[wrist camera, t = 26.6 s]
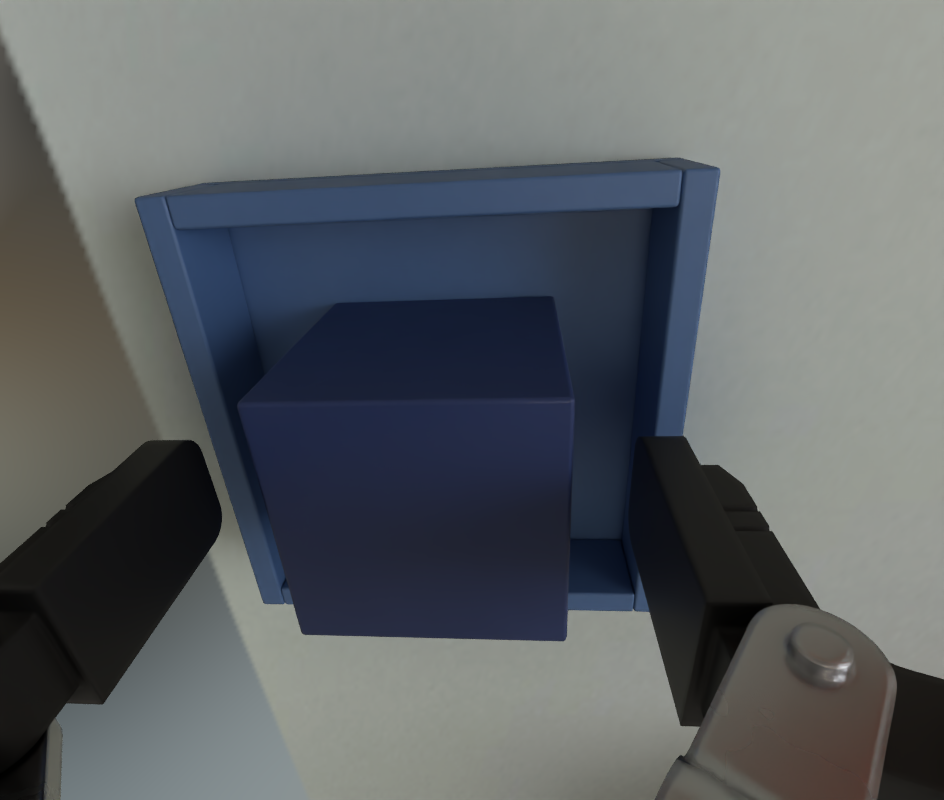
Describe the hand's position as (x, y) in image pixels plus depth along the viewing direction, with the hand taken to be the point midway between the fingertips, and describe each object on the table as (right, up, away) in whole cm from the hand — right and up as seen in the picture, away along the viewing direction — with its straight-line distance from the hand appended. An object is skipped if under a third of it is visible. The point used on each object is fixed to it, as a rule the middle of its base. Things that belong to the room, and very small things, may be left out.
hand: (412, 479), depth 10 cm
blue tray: (0, +2, +4) cm, 4 cm away
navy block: (+1, +1, +4) cm, 4 cm away
